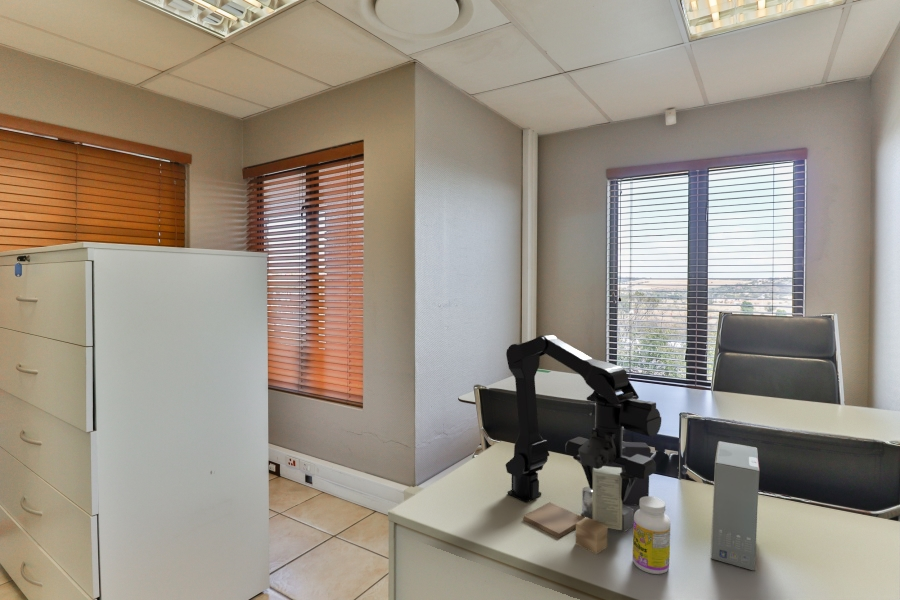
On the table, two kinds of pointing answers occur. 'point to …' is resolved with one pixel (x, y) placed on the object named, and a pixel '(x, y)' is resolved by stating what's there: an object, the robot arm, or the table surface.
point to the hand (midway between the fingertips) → (607, 494)
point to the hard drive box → (735, 505)
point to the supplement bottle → (651, 536)
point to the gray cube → (627, 518)
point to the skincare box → (607, 496)
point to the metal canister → (587, 502)
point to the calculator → (640, 485)
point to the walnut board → (553, 519)
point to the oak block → (591, 535)
